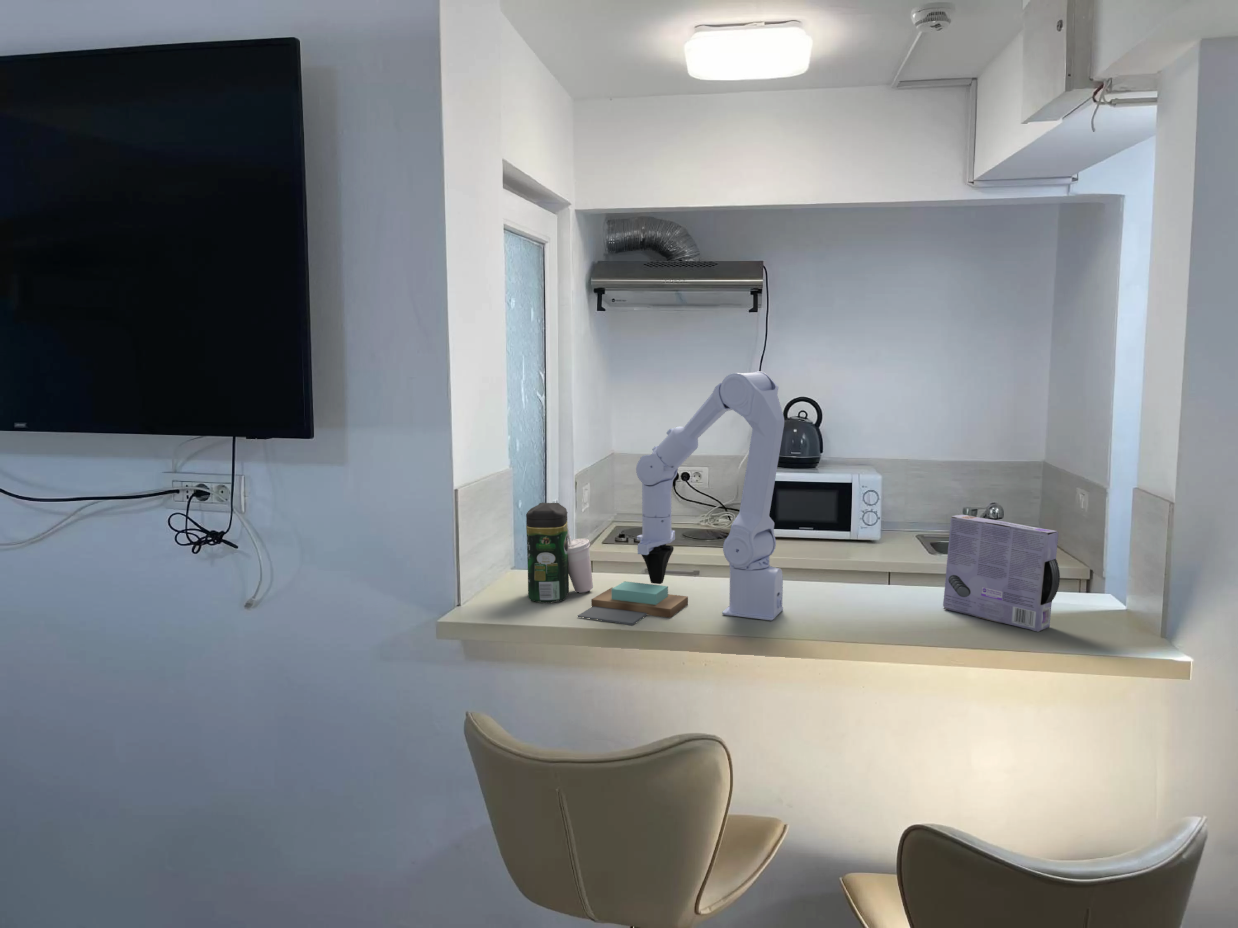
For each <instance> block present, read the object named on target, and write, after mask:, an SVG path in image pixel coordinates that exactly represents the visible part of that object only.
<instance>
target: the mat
mask: <svg viewBox="0 0 1238 928" xmlns="http://www.w3.org/2000/svg"><path fill="white" fill-rule="evenodd" d="M646 615H647V613H644V612H636V611H628V610H620V609H612V608H605V607H597V606H593V607H591V606H590V608H588V609H586V610H585V611H583V612H581V613H579V614H577V616H578V617H584V618H590V619H598V620H602V621H601V622H604V621H607V622H606V623H612V622H615V623H614V624H621V625H628V626H634V625H635V624H637V623H638V622H640V621H641V620H642V619H644V618H645V617H647V616H648V615H647V616H646ZM643 617H644V618H643ZM590 619H589V620H590ZM640 619H641V620H640ZM639 620H640V621H639ZM636 622H637V623H636Z"/></svg>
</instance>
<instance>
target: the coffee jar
mask: <svg viewBox="0 0 1238 928" xmlns="http://www.w3.org/2000/svg"><path fill="white" fill-rule="evenodd" d="M525 514H526V515H525V517H526V518H525V520H526V523H525V524H526V525H525V526H526V528H525V529H526V553H527V555H526V556H527V597H528V599H529V600H530V601H531V602H536V603H539V604H552V603H556V602H563V601H564V600H565V599H566V598H567V597H568V595H569V593H570V581H569V580H570V576H569V573H568V528H569V525H568V526H567V524H568V511H567V508H566V507H565V506H563V505H561V503H560V502H540V503H538V504H537V505H535V506H533V507H531V508H530V509H529V510H527V512H526V513H525ZM551 602H552V603H551Z"/></svg>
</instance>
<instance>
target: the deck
mask: <svg viewBox="0 0 1238 928" xmlns="http://www.w3.org/2000/svg"><path fill="white" fill-rule="evenodd" d="M612 588H613V587H610V588H609V589H607V590H605V591H603V592H601V593H599V594H598V595H596V596H594V597H593V598H591V599H590V600H591V601H590V602H591V606H592V607H593V606H597V607H605V608H612V609H620V610H628V611H636V612H644V613H647V616H654V617H661V618H669V619H670V618H672V617H674V616H675V615H677V613H679V612H680V611H681V610H683V609H684V608H685V607H687V606H688V605H689V596H687V595H677V594H671V593H670V594H669V593H668V597H666V598H665V599H664V600H662V601H661V602H659V603H658V604H656V605H653V604H645V603H637V602H629V601H621V600H613V599H612ZM591 606H590V607H591Z"/></svg>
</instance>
